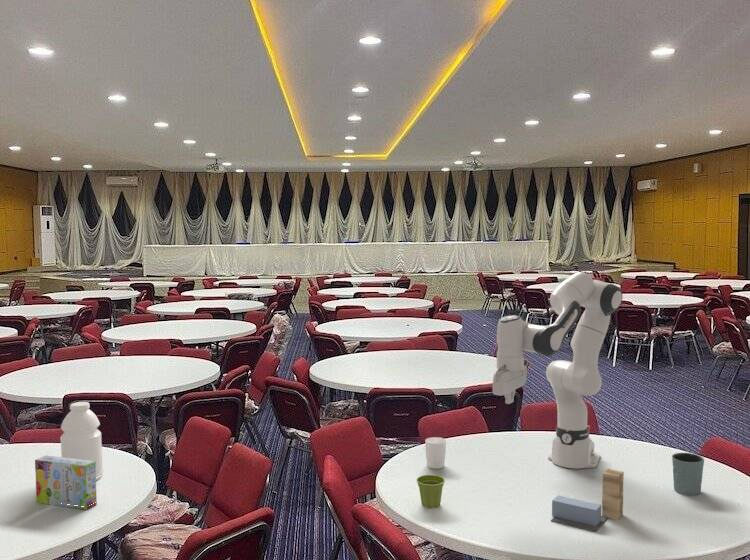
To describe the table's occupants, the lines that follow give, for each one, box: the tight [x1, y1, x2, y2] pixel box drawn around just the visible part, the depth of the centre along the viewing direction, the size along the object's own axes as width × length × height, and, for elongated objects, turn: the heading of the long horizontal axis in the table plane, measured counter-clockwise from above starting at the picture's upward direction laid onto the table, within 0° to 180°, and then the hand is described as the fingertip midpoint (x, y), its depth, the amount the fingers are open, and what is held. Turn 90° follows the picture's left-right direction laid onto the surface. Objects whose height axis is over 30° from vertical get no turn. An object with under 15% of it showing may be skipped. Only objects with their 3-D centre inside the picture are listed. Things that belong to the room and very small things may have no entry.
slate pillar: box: [551, 495, 602, 526], centre depth 226 cm, size 5×5×14 cm
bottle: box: [59, 401, 104, 481], centre depth 264 cm, size 14×14×28 cm
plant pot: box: [416, 474, 446, 509], centre depth 237 cm, size 9×9×9 cm
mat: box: [550, 515, 609, 533], centre depth 225 cm, size 12×14×1 cm
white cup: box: [424, 436, 447, 470], centre depth 275 cm, size 8×8×10 cm
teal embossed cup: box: [671, 452, 705, 496], centre depth 248 cm, size 10×10×12 cm
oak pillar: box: [601, 468, 625, 521], centre depth 228 cm, size 5×5×14 cm
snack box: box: [34, 454, 98, 510], centre depth 241 cm, size 21×6×15 cm, turn 71°
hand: (509, 403), depth 247 cm, fingers closed
